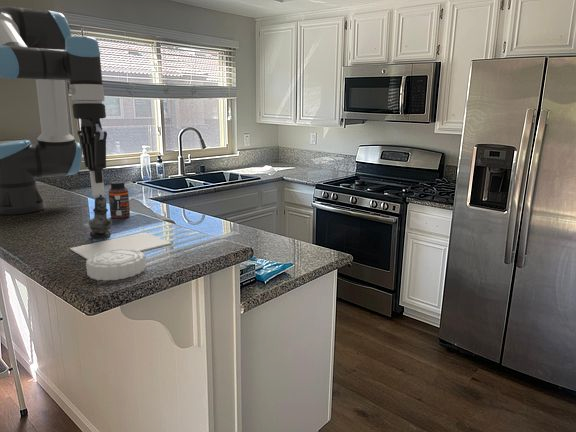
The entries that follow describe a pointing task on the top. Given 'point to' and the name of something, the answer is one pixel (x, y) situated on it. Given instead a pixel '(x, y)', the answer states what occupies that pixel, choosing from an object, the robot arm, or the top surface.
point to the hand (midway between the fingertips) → (98, 194)
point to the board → (121, 244)
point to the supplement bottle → (119, 200)
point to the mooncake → (115, 264)
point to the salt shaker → (100, 220)
